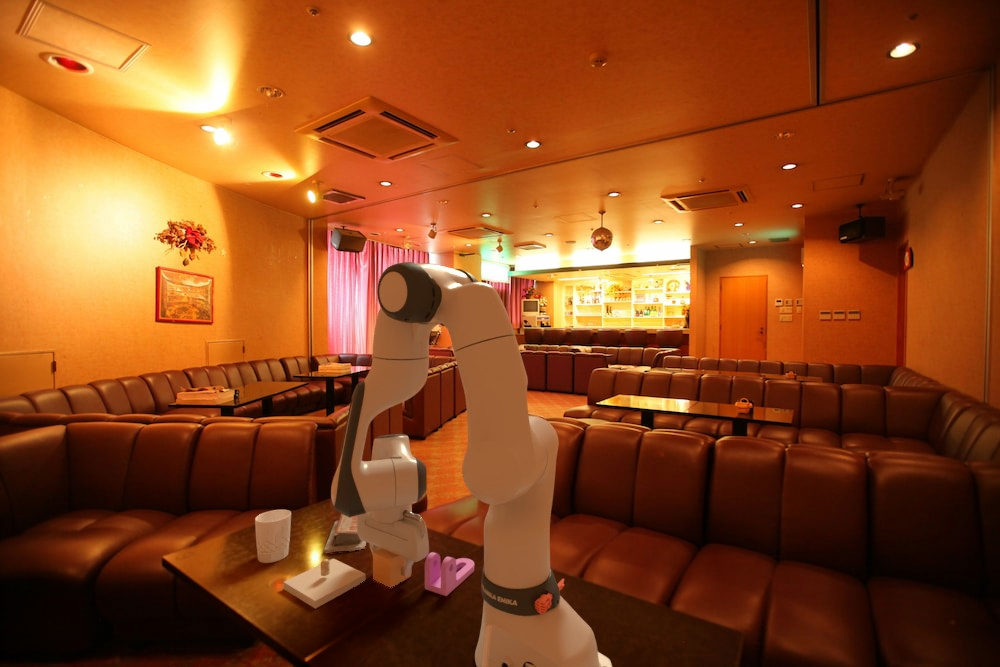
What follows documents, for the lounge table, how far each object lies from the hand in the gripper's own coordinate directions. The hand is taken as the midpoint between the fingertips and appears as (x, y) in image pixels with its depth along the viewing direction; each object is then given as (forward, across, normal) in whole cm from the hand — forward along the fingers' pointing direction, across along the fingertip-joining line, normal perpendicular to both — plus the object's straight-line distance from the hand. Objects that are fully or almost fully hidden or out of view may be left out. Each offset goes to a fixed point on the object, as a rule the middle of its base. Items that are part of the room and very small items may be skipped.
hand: (391, 568), depth 96 cm
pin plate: (+2, +10, +10) cm, 14 cm away
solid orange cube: (+2, 0, 0) cm, 2 cm away
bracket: (+2, -11, -8) cm, 14 cm away
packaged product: (+3, +26, -7) cm, 27 cm away
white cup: (+2, +32, +10) cm, 34 cm away
